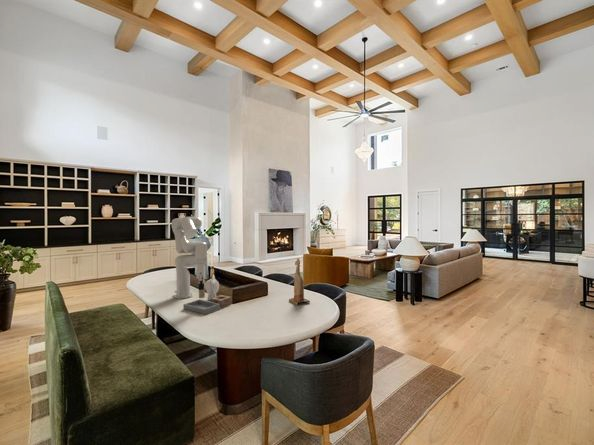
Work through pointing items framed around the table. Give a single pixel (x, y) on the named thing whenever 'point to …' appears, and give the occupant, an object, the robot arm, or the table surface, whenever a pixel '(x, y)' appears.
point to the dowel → (202, 291)
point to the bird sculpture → (298, 286)
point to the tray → (201, 307)
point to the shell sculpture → (212, 287)
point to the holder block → (222, 300)
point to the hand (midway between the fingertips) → (201, 288)
